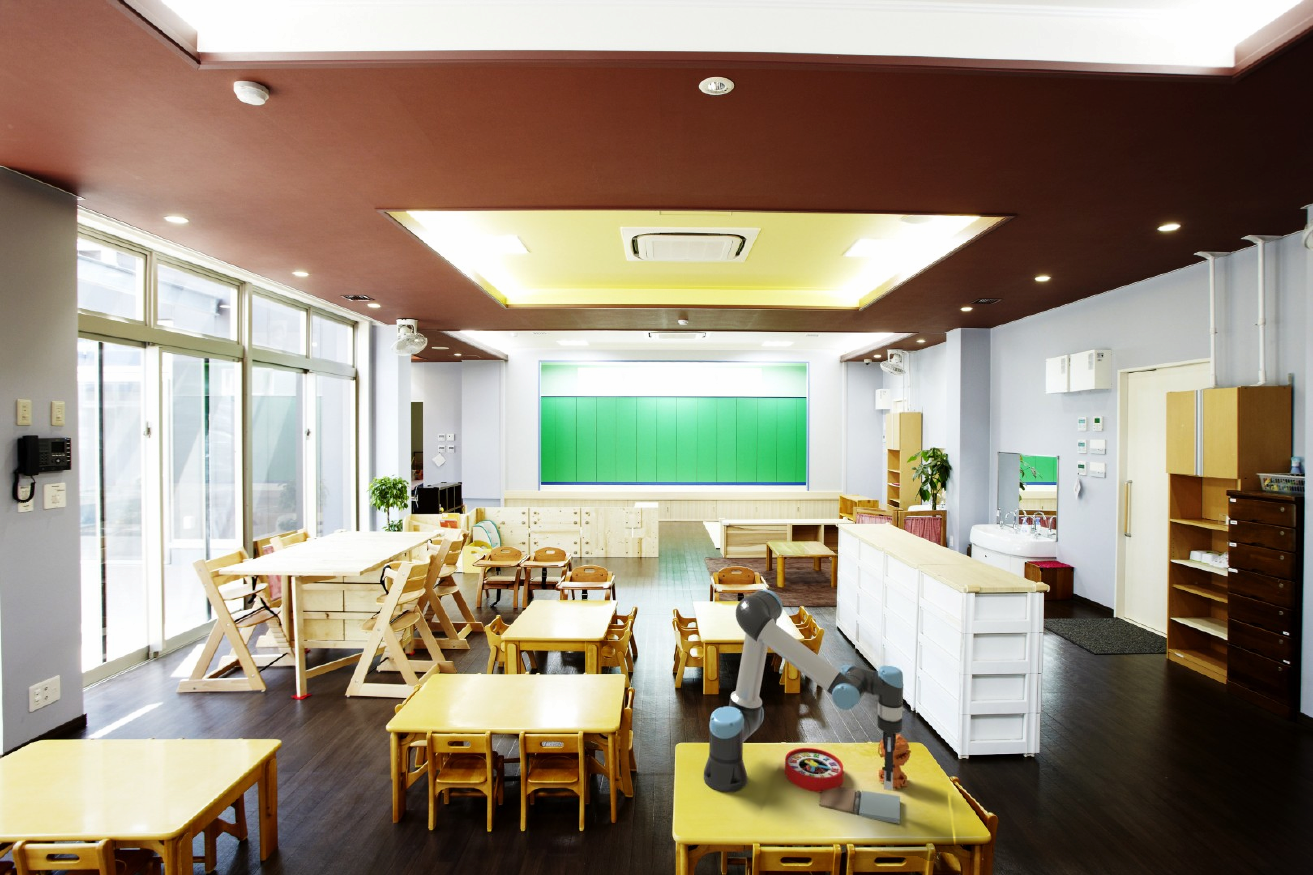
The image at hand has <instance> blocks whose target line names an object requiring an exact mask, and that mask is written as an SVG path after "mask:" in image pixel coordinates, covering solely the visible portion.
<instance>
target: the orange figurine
mask: <svg viewBox="0 0 1313 875" xmlns="http://www.w3.org/2000/svg"><path fill="white" fill-rule="evenodd" d="M901 735H902V733H901V734H900V733H897V734H896V743H895V751H893V765H895V768H893V789H895V788H897V789H898V790H901V787H906V788H907V784H908V780H907V779H908V776H907V774H905V772H904V771H902V769H901V766H902V767H903V766H905V764H906V763H907V762H908V761H909V760H910V756H911V753H912V750H910V745H909V743H908V740H907V739H906V738H904V737H903V736H901ZM877 747H878V749H877V753H878V755H879V758H883V760H884V761H885V749H884V748H883V747H884V741H883V738H882V739H881V740H880V742H879V744H878V746H877ZM880 752H881V753H880ZM883 767H885V765H884V766H883ZM878 778H879V783H880V782H882V783H884V770H882V769H879V770H878Z"/></svg>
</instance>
